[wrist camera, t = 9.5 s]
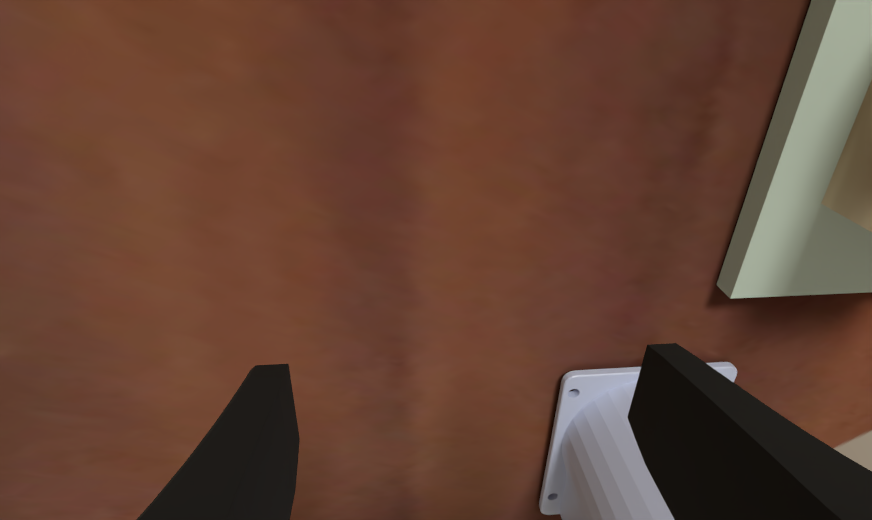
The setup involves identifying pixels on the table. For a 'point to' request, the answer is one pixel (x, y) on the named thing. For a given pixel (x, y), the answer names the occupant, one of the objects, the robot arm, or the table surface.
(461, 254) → the table surface
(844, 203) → the collar block
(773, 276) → the pin base
